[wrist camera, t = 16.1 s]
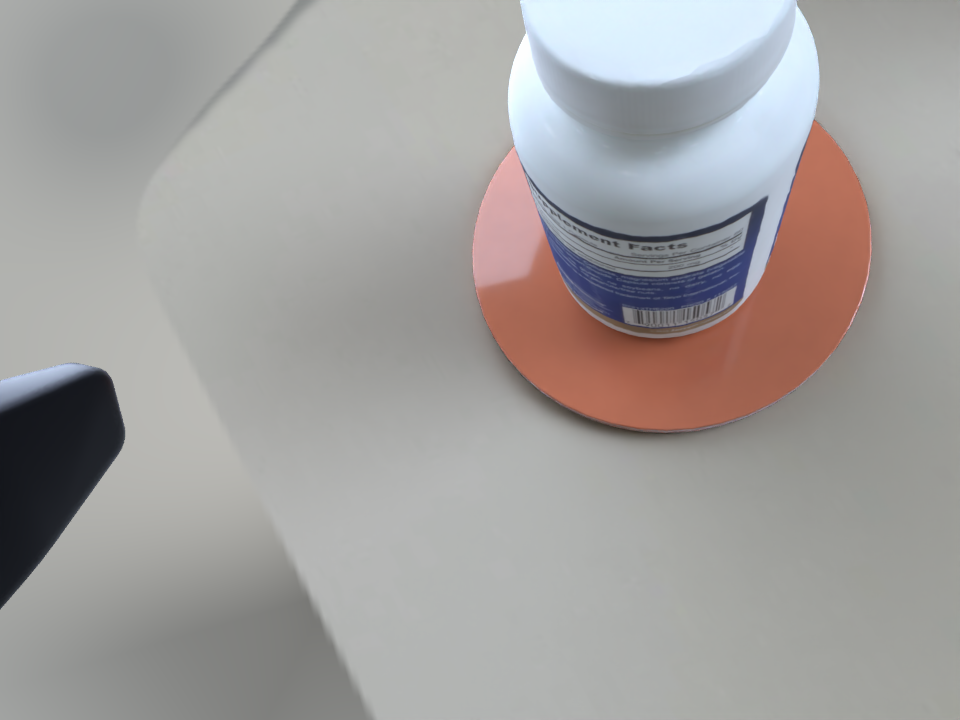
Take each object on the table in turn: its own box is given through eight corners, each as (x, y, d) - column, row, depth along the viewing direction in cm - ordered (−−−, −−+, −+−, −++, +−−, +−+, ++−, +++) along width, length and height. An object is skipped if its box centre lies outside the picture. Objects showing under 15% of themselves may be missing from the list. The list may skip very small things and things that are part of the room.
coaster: (556, 495, 20) (553, 493, 19) (427, 171, 23) (423, 164, 23) (949, 335, 19) (955, 329, 18) (755, 21, 22) (756, 11, 22)
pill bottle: (631, 117, 22) (605, -229, 12) (813, 210, 20) (939, -115, 11) (515, 275, 21) (400, 34, 12) (691, 385, 19) (713, 200, 10)
